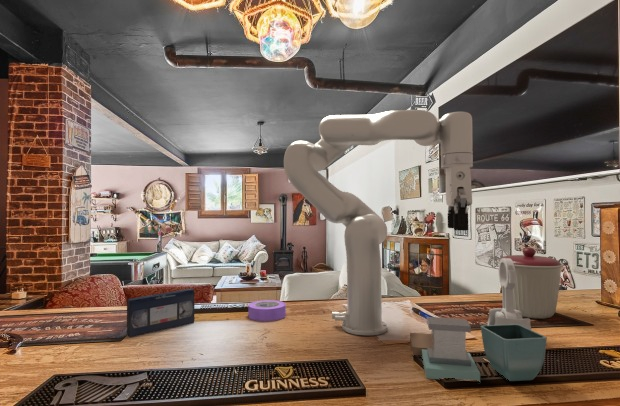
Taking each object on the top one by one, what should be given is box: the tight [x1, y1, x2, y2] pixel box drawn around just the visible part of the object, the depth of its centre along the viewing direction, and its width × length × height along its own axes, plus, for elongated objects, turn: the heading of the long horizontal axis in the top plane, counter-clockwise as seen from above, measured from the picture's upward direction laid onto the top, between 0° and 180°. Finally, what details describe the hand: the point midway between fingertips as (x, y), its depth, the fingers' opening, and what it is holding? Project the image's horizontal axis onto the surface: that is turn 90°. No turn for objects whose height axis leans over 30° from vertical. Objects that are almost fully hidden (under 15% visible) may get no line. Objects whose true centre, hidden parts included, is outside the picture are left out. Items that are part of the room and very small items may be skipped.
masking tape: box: [247, 299, 287, 322], centre depth 117 cm, size 12×12×4 cm
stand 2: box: [421, 349, 481, 383], centre depth 77 cm, size 10×10×2 cm
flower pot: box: [480, 324, 548, 382], centre depth 75 cm, size 9×9×9 cm
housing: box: [426, 316, 472, 366], centre depth 78 cm, size 8×5×8 cm, turn 78°
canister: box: [496, 246, 565, 320], centre depth 117 cm, size 18×18×21 cm
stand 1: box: [409, 332, 432, 357], centre depth 89 cm, size 10×10×2 cm
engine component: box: [487, 257, 532, 330], centre depth 96 cm, size 11×20×10 cm
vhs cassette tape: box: [126, 288, 196, 338], centre depth 105 cm, size 18×3×10 cm, turn 131°
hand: (457, 229), depth 94 cm, fingers open, 9 cm apart
